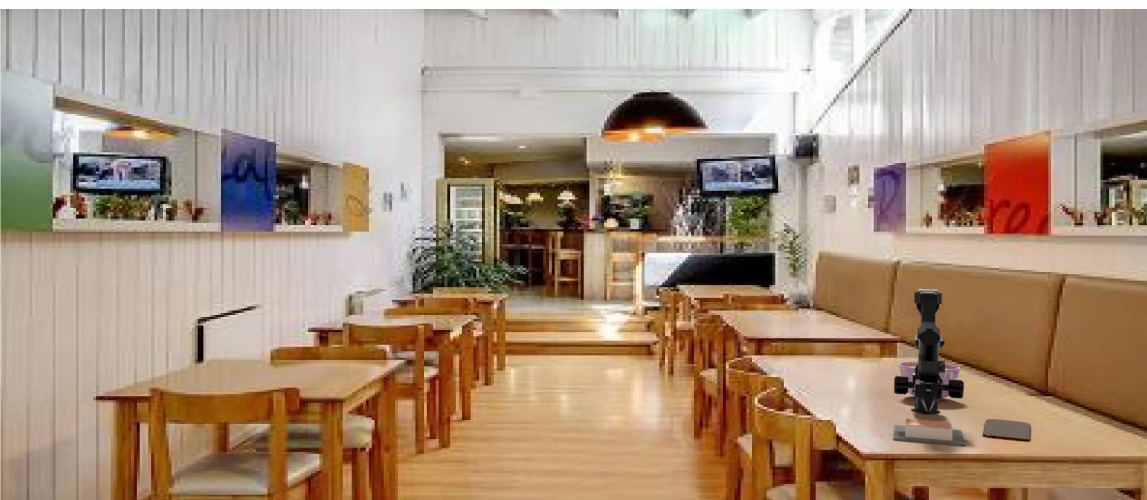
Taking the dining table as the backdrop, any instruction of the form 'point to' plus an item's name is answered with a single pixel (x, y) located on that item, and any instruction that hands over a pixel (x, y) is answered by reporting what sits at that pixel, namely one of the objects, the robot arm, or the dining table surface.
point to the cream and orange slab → (928, 429)
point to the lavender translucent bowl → (950, 373)
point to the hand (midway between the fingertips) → (928, 411)
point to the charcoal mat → (956, 439)
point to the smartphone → (1006, 430)
